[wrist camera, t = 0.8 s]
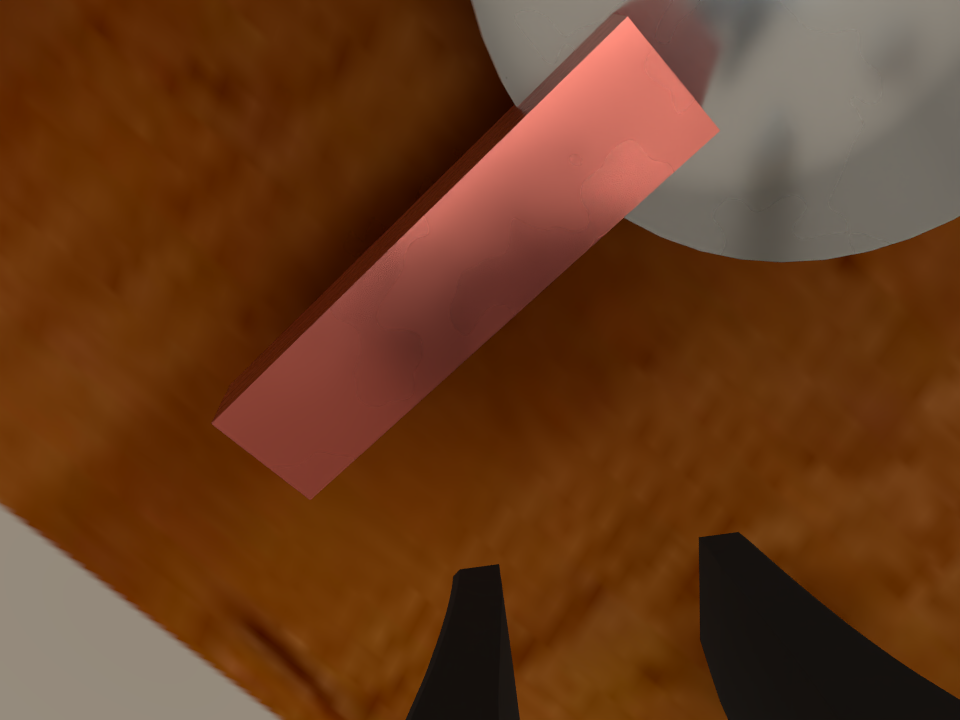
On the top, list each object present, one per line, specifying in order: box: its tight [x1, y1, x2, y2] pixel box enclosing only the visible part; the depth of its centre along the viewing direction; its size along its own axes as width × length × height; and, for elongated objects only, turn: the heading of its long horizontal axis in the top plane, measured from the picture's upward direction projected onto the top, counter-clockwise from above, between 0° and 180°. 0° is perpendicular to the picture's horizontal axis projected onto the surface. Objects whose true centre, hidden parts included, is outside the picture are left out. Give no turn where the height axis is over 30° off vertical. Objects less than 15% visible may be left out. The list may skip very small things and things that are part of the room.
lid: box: [211, 0, 960, 500], centre depth 14 cm, size 20×13×2 cm, turn 134°
